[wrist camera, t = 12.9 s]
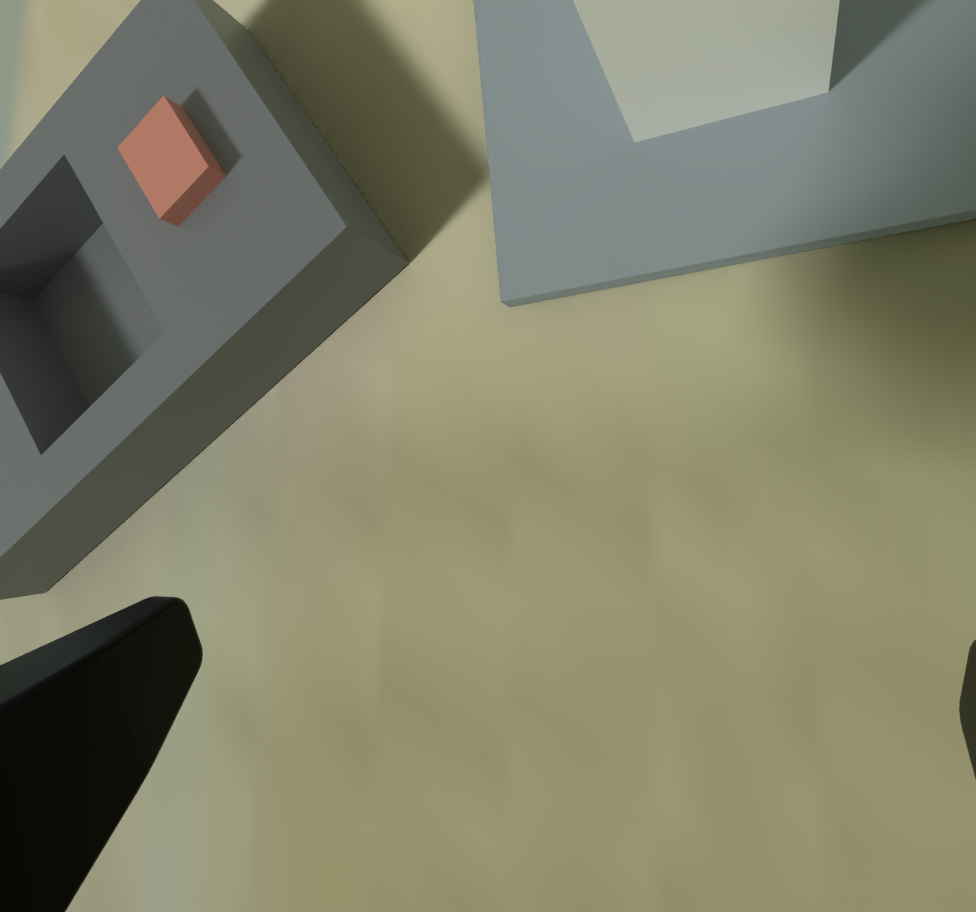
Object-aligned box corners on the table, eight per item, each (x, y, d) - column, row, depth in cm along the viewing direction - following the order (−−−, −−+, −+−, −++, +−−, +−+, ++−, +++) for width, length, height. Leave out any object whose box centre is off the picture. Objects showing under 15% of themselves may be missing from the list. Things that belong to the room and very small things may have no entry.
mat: (968, -319, 15) (974, -349, 15) (1042, 206, 14) (1052, 195, 14) (471, -113, 19) (461, -131, 19) (509, 307, 18) (500, 301, 18)
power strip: (249, 31, 22) (152, -52, 18) (409, 263, 19) (331, 218, 16) (-58, 373, 26) (-182, 357, 23) (44, 592, 24) (-76, 610, 21)
